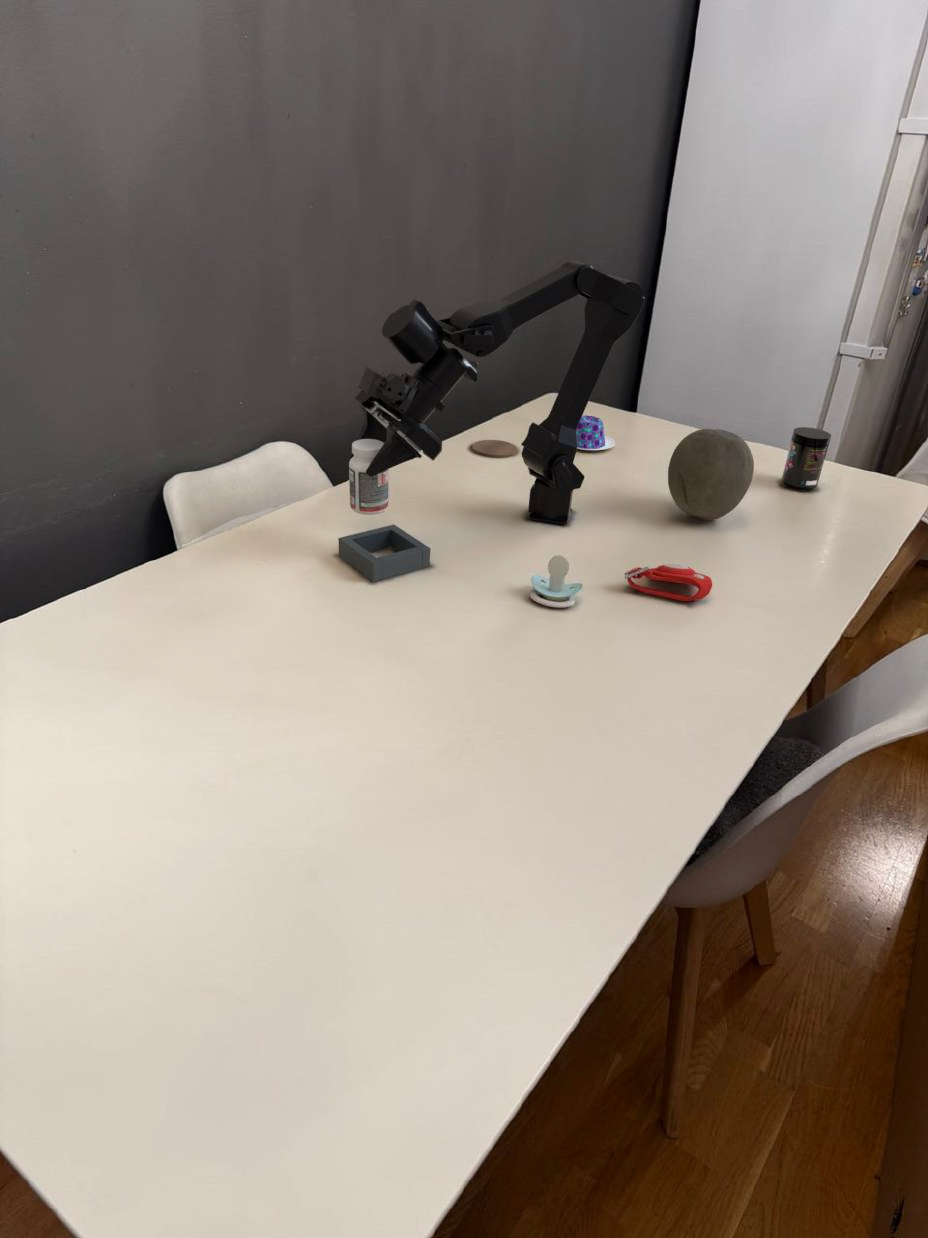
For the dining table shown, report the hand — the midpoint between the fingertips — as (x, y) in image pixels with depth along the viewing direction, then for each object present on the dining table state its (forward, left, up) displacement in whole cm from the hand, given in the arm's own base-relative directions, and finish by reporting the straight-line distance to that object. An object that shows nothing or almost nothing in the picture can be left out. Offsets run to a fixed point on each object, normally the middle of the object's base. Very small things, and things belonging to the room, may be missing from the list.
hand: (359, 467), depth 128 cm
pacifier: (-31, +5, -13) cm, 34 cm away
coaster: (-10, -53, -13) cm, 55 cm away
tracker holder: (-46, -4, -13) cm, 48 cm away
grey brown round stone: (-51, -34, -13) cm, 62 cm away
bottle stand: (-5, +2, -13) cm, 14 cm away
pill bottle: (-1, -1, -7) cm, 7 cm away
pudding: (-27, -64, -13) cm, 70 cm away
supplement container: (-69, -56, -13) cm, 89 cm away
